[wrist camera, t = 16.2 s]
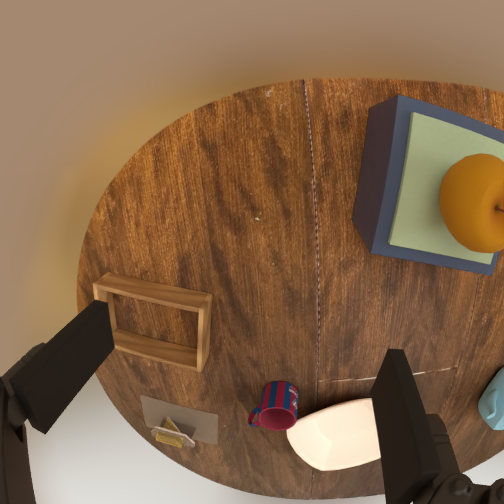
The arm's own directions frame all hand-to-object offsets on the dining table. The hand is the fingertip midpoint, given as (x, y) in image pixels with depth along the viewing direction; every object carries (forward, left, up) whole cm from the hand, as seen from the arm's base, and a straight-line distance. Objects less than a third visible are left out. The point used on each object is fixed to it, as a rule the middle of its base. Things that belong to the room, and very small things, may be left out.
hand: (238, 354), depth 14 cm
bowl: (+40, +20, -33) cm, 56 cm away
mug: (+35, +4, -33) cm, 49 cm away
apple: (-8, +18, -18) cm, 27 cm away
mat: (-8, +18, -19) cm, 27 cm away
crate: (-8, +18, -33) cm, 38 cm away
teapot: (+28, +53, -33) cm, 68 cm away
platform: (+51, -15, -33) cm, 62 cm away
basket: (+22, -19, -33) cm, 44 cm away
